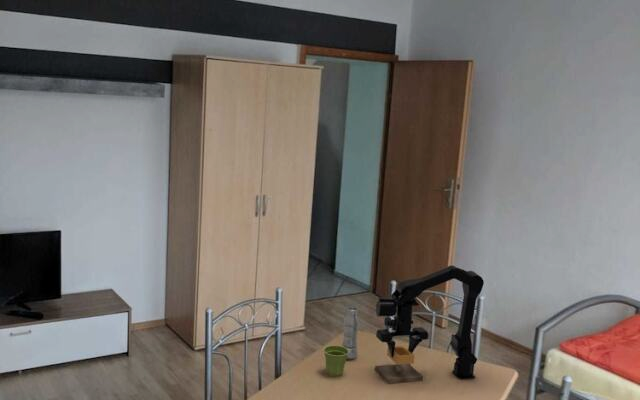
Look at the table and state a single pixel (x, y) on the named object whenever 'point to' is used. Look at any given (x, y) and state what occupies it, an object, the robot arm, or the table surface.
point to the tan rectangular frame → (401, 355)
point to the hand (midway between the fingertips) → (400, 356)
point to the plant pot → (335, 359)
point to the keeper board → (398, 373)
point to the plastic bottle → (351, 332)
